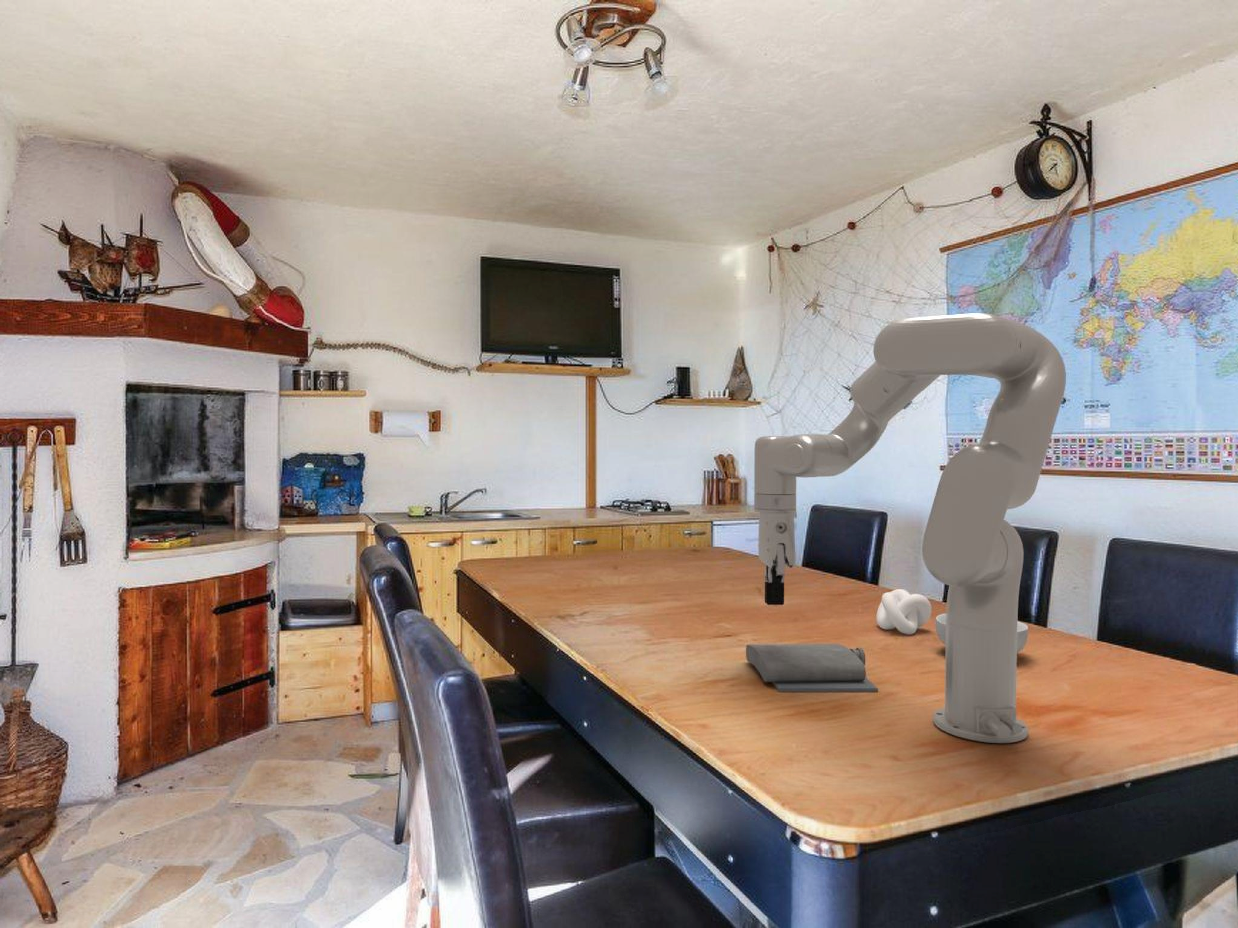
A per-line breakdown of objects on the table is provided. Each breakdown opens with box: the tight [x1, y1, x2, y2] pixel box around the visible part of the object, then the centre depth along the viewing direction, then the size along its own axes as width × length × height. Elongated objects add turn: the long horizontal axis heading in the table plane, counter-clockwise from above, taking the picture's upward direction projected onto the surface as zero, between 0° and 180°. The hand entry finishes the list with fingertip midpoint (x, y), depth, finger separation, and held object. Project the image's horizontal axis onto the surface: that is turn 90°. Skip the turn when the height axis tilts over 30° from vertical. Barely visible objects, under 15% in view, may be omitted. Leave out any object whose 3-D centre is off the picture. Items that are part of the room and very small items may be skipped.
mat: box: [771, 677, 879, 693], centre depth 139 cm, size 20×17×1 cm
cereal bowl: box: [935, 613, 1029, 654], centre depth 153 cm, size 17×17×7 cm
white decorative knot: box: [875, 588, 932, 636], centre depth 174 cm, size 11×12×9 cm
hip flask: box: [745, 643, 867, 683], centre depth 140 cm, size 16×4×20 cm
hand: (774, 603), depth 139 cm, fingers closed
